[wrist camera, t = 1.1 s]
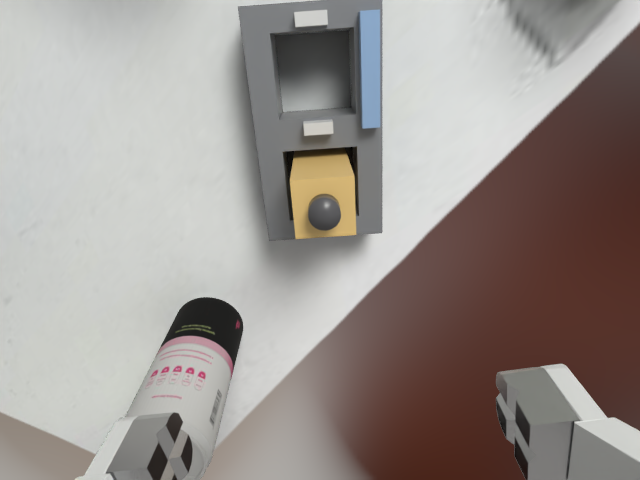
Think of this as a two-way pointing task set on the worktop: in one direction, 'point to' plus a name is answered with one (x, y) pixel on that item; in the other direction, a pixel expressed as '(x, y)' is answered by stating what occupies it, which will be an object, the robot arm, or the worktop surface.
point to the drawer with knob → (323, 193)
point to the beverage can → (194, 374)
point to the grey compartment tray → (316, 125)
